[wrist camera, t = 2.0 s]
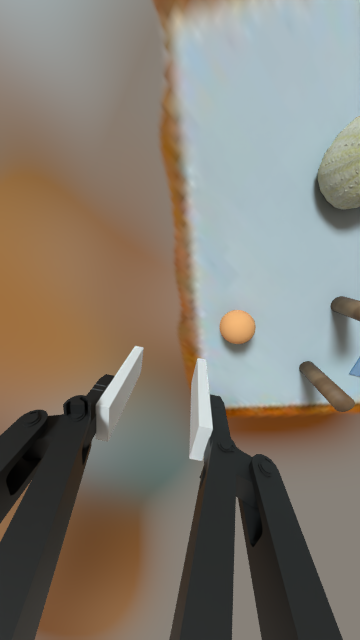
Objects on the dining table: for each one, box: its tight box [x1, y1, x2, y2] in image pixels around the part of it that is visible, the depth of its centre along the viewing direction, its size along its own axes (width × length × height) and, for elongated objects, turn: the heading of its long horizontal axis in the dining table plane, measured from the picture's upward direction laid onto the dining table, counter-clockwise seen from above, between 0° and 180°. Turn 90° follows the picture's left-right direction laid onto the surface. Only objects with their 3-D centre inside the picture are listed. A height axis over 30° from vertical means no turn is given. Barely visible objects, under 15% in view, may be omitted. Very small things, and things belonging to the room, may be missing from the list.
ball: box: [220, 310, 255, 344], centre depth 29 cm, size 6×6×6 cm
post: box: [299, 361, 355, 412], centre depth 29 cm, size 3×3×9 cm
